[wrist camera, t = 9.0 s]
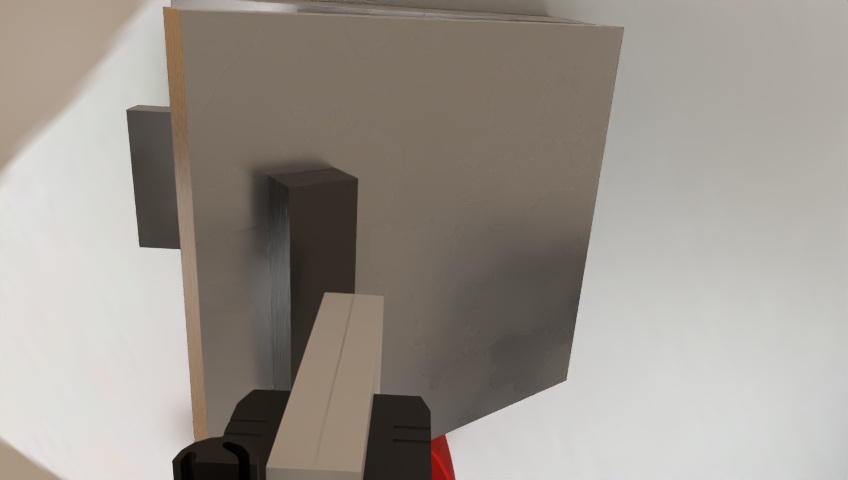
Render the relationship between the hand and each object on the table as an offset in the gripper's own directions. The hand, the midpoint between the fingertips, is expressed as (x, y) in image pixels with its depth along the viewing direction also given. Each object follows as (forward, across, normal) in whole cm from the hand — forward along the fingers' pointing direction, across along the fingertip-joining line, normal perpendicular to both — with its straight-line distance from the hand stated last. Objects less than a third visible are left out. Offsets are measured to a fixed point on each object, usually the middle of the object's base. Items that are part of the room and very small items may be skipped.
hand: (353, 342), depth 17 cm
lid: (+6, -2, 0) cm, 7 cm away
